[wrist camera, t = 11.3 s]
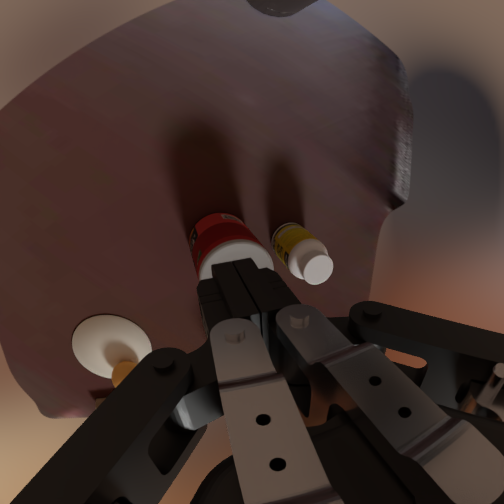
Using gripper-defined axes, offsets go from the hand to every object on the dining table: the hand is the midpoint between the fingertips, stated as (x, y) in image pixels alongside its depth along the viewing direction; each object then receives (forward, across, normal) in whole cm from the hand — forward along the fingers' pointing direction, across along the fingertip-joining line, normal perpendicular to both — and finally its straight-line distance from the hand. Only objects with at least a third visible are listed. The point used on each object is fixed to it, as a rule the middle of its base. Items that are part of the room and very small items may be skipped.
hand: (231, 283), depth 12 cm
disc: (+29, +15, +25) cm, 41 cm away
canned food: (+29, -4, +10) cm, 31 cm away
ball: (+26, +13, +29) cm, 41 cm away
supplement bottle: (+29, -14, +12) cm, 35 cm away
